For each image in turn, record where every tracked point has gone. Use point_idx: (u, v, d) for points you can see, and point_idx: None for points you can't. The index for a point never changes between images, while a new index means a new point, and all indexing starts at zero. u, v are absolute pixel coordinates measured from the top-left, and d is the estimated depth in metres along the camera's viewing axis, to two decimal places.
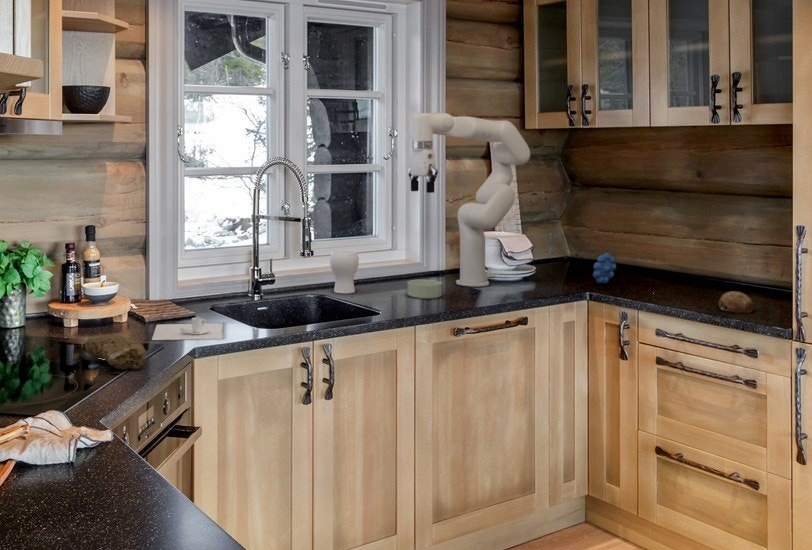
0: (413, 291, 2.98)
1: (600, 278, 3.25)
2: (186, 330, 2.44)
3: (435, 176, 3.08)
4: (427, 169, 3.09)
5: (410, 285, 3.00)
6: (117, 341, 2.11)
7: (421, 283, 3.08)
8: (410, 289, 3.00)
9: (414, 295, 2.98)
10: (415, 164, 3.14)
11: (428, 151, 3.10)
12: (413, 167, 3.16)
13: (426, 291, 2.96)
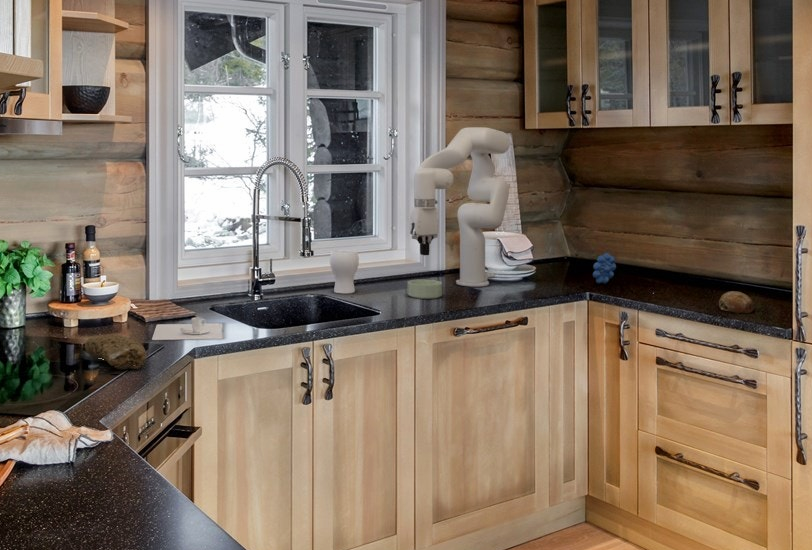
0: (413, 291, 2.98)
1: (600, 278, 3.25)
2: (186, 330, 2.44)
3: None
4: None
5: (410, 285, 3.00)
6: (117, 341, 2.11)
7: (421, 283, 3.08)
8: (410, 289, 3.00)
9: (414, 295, 2.98)
10: (426, 223, 2.99)
11: None
12: (422, 227, 2.99)
13: (426, 291, 2.96)
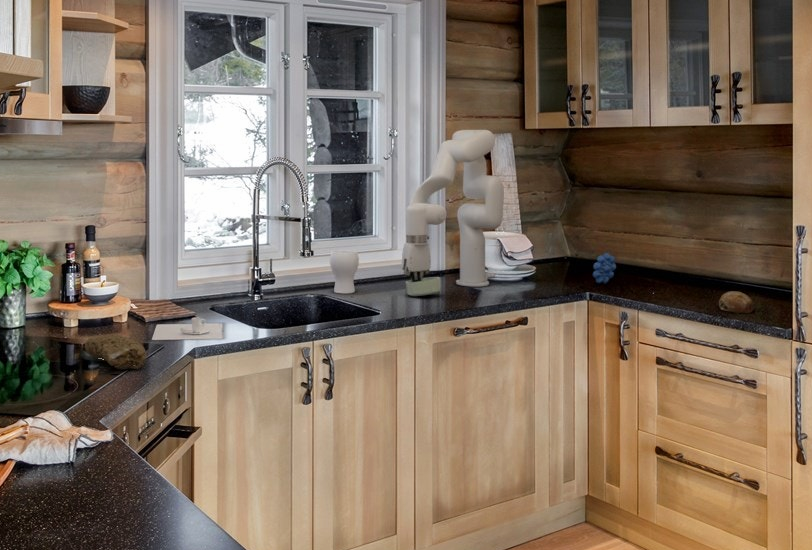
0: (412, 289, 2.99)
1: (600, 278, 3.25)
2: (186, 330, 2.44)
3: None
4: None
5: (408, 284, 3.00)
6: (117, 341, 2.11)
7: None
8: (409, 288, 3.00)
9: (413, 293, 2.98)
10: (418, 259, 3.02)
11: None
12: (414, 263, 3.01)
13: (424, 287, 2.97)
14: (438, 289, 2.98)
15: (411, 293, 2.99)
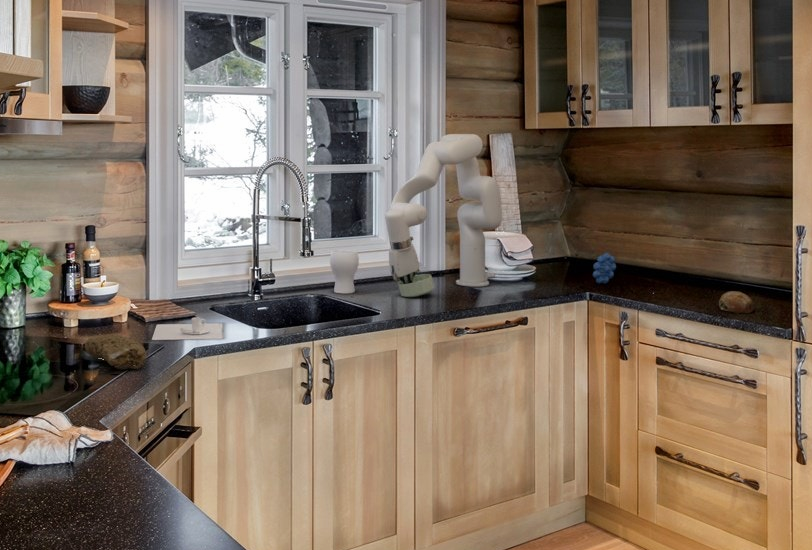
0: (404, 291, 2.99)
1: (600, 278, 3.25)
2: (186, 330, 2.44)
3: None
4: None
5: (400, 286, 3.00)
6: (117, 341, 2.11)
7: None
8: (401, 289, 3.00)
9: (406, 295, 2.99)
10: (405, 264, 2.99)
11: None
12: (402, 268, 2.99)
13: (416, 288, 2.97)
14: (430, 288, 2.98)
15: (404, 295, 3.00)
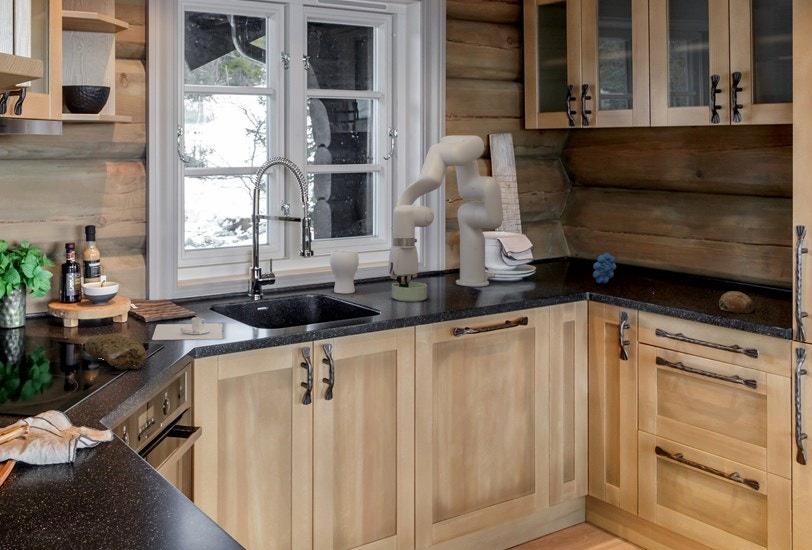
0: (398, 294, 2.93)
1: (600, 278, 3.25)
2: (186, 330, 2.44)
3: None
4: None
5: (395, 288, 2.94)
6: (117, 341, 2.11)
7: None
8: (395, 292, 2.94)
9: (400, 298, 2.93)
10: (405, 263, 2.92)
11: None
12: (401, 266, 2.92)
13: (412, 294, 2.91)
14: (424, 297, 2.94)
15: (397, 298, 2.94)
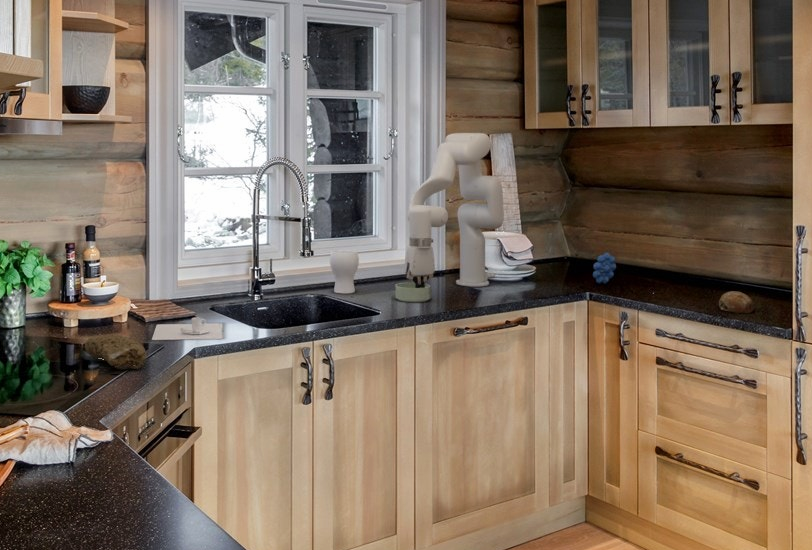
0: (404, 295, 2.91)
1: (600, 278, 3.25)
2: (186, 330, 2.44)
3: None
4: None
5: (400, 289, 2.92)
6: (117, 341, 2.11)
7: (405, 286, 3.02)
8: (400, 293, 2.93)
9: (405, 299, 2.91)
10: (421, 263, 2.92)
11: None
12: (418, 267, 2.91)
13: (418, 294, 2.90)
14: (429, 297, 2.94)
15: (403, 298, 2.92)
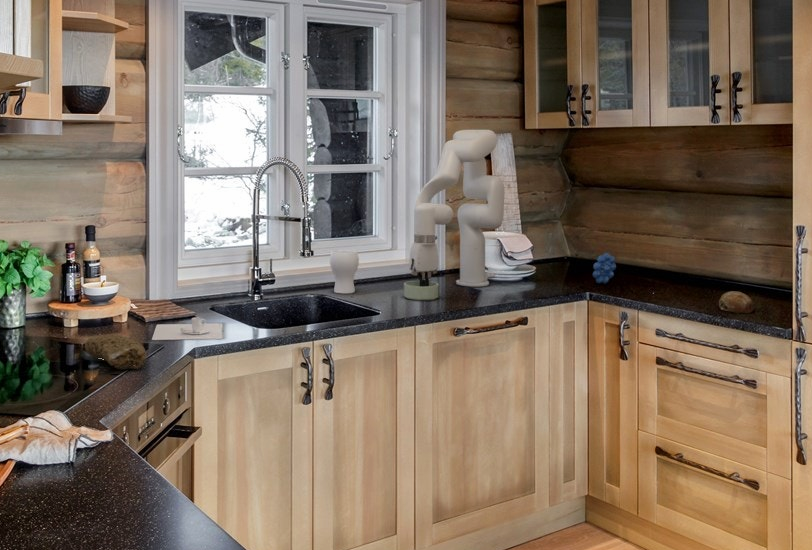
0: (422, 294, 2.93)
1: (600, 278, 3.25)
2: (186, 330, 2.44)
3: None
4: None
5: (417, 288, 2.94)
6: (117, 341, 2.11)
7: None
8: (417, 292, 2.94)
9: (423, 297, 2.93)
10: (426, 259, 2.99)
11: None
12: (422, 263, 2.99)
13: (434, 292, 2.95)
14: None
15: (420, 297, 2.93)
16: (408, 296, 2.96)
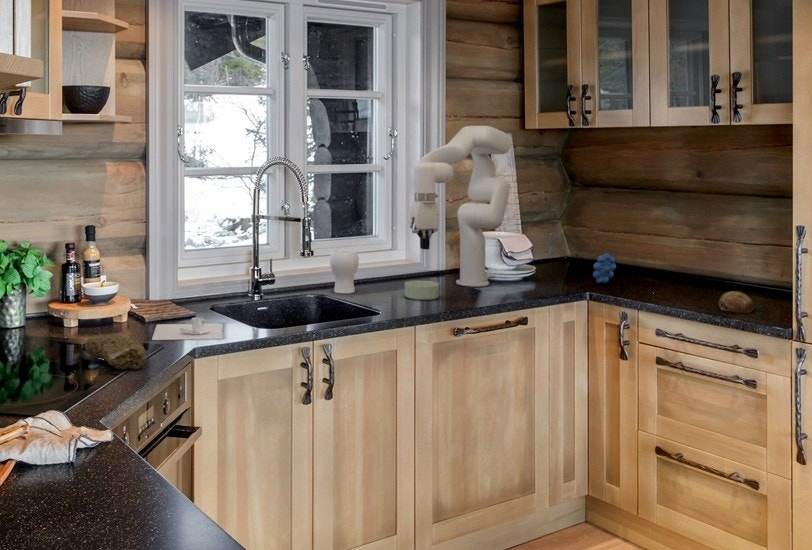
0: (422, 293, 2.94)
1: (600, 278, 3.25)
2: (186, 330, 2.44)
3: None
4: None
5: (418, 288, 2.94)
6: (117, 341, 2.11)
7: (409, 285, 3.04)
8: (418, 292, 2.94)
9: (424, 297, 2.94)
10: (426, 217, 2.99)
11: None
12: (423, 221, 2.99)
13: (435, 292, 2.95)
14: None
15: (420, 297, 2.94)
16: (409, 296, 2.97)
